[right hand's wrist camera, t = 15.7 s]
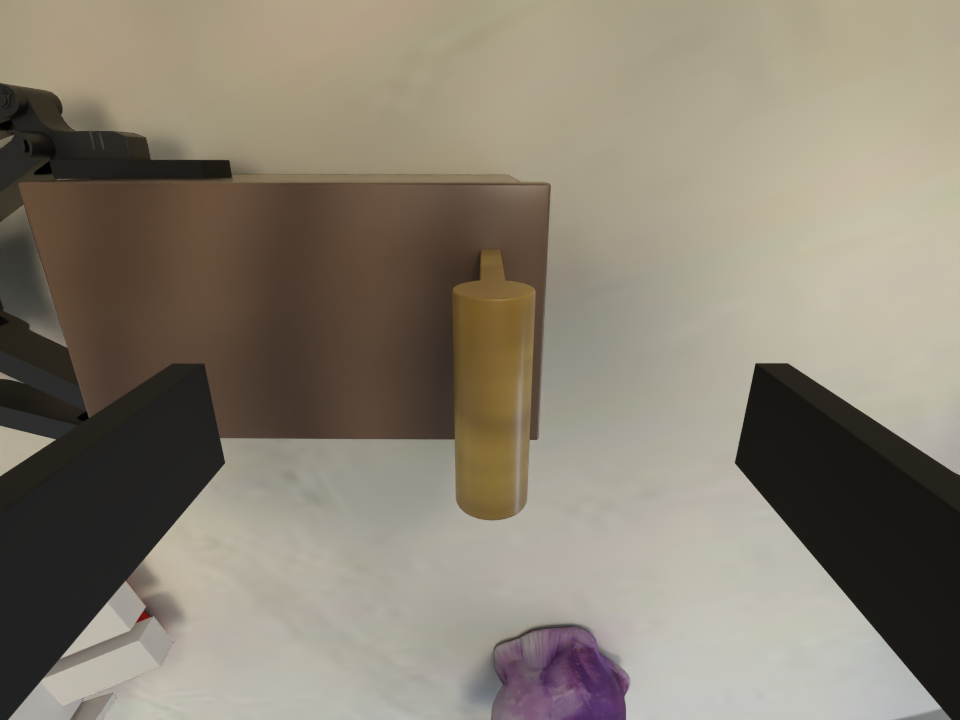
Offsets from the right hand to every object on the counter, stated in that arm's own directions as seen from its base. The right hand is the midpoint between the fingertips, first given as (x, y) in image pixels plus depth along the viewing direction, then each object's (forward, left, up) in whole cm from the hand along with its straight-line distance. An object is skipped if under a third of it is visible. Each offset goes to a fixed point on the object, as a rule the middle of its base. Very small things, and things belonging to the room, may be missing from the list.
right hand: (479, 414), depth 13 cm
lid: (+3, -6, -9) cm, 11 cm away
